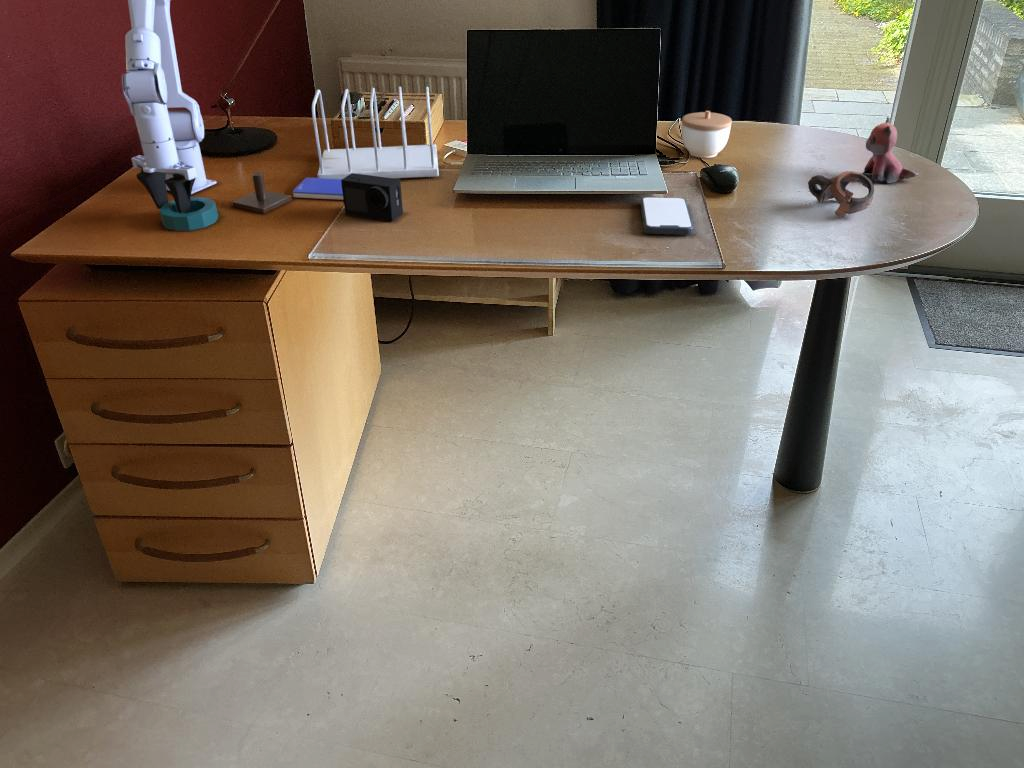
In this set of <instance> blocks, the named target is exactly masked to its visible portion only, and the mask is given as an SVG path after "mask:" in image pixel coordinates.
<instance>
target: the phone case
mask: <svg viewBox="0 0 1024 768" xmlns="http://www.w3.org/2000/svg"><path fill="white" fill-rule="evenodd" d="M640 208H641V209H640V210H641V216H642V219H641V220H642V222H643V230H644V232H645V233H646V234H649V235H680V236H681V235H683V236H684V235H687V236H688V235H692V234H693V233H694V224H693V220H692V217H691V213H690V209H689V206H688V203H687V199H686V198H683V197H661V196H660V197H659V196H658V197H656V196H655V197H654V196H653V197H651V196H644V197H642V198H641V199H640Z"/></svg>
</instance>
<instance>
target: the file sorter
mask: <svg viewBox="0 0 1024 768" xmlns="http://www.w3.org/2000/svg"><path fill="white" fill-rule="evenodd" d="M402 90H403V89H402V86H398V98H399V100H398V101H399V111H400V112H399V113H400V126H401V139H402V145H393V146H382V141H381V131H380V123H379V112H378V104H377V103H378V101H377V93H376V89H375V87H371V90H370V91H371V92H370V96H369V97H370V98H369V117H370V124H371V132H372V133H371V134H372V141H373V146H372V147H356V141H355V139H356V138H355V132H354V123H353V114H352V106H351V97H350V96H351V95H350V91H349V89H348V88H345V89H344V93H343V96H342V100H341V107H340V108H341V110H340V112H341V122H342V131H343V138H344V144H345V148H333V149H330V143H329V136H328V130H327V129H328V128H327V123H326V115H325V110H324V103H323V96H322V92H321V90H320V89H316V91H315V94H314V96H313V99H312V103H311V116H312V125H313V130H314V136H315V143H316V149H317V156H318V162H319V168H318V171H317V178H324V179H343V178H345V177H347V176H348V175H350V174H351V173H355V174H363V175H371V176H379V177H386V178H393V179H408V178H432V177H439V175H440V174H439V173H440V172H439V162H438V161H439V160H438V150H437V144H436V143H433V129H432V117H431V115H432V114H431V104H430V103H431V102H430V90H429V86H426V87H425V95H426V96H425V100H426V111H427V113H426V114H427V124H428V126H427V127H428V135H429V136H428V137H429V138H428V139H429V144H415V145H414V144H413V145H408V142H407V133H406V130H407V129H406V121H405V112H404V101H403V91H402ZM318 100H319V106H320V113H321V119H322V126H323V132H324V140H325V146H326V149H323V153H322V151H321V145H320V139H319V137H320V136H319V132H318V124H317V118H316V104H317V101H318ZM346 102H347V109H348V118H349V126H350V135H351V142H352V143H351V144H352V147H351V148H349V140H348V132H347V124H346V115H345V106H346ZM373 107H374V108H373ZM374 116H375V117H374ZM374 119H375V120H374ZM375 126H376V127H375ZM377 142H378V144H377Z"/></svg>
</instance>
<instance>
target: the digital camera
mask: <svg viewBox="0 0 1024 768" xmlns="http://www.w3.org/2000/svg"><path fill="white" fill-rule="evenodd" d="M401 183H402V182H401V178H386V177H379V176H371V175H363V174H355V173H351V174H350V175H348V176H347V177H345V178H343V179H342V180H341V184H342V192H343V200H342V201H343V206H344V214H345V215H346V216H353V217H359V218H366V219H371V220H377V221H378V220H379V221H385V222H394V221H396V220H397V219H398V218H399V217H401V216H402V215H403V214H404V209H403V197H402V185H401Z"/></svg>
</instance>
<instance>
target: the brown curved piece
mask: <svg viewBox="0 0 1024 768" xmlns="http://www.w3.org/2000/svg"><path fill="white" fill-rule="evenodd" d="M857 181H860V182H861V183H862V186H863V187H865V188H867V189H868V193H867V195H864V196H863V197H853V196H854V195H855V194H854V192H853V191H850V190H849V189H847V186H848V185H850V183H854V182H857ZM807 186H808V191H809V192H810V194H811V195H812V196H813V197H815V199H816V201H817V203H818V204H822V203H823V204H824V203H825V202H826V201H828V200H831V199H834V200H835V201H836V202H837V203H838V204H839V205H838V208H837V209H836V210H835V211H834V215H835V216H837V217H839V218H840V219H842V218H844V217H846V216H847V214H848V215H852V214H856V213H859V212H862V211H864V210H867V208H868V207H869V206H870V205H871V204H872V202H873V200H874V193H875V186H874V183H873V182H872V181H871V179H870V178H869V177H868V176H866V174H864V175H863V173H860V172H858V171H853V170H846V171H843V172H841V173H839V174H838V175H835V176H834V177H831V178H830V177H827V176H825V175H823V174H817V175H814V176H812V177H811V178H810V179H809V180H808V182H807ZM818 186H819V187H820V188H818Z"/></svg>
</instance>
